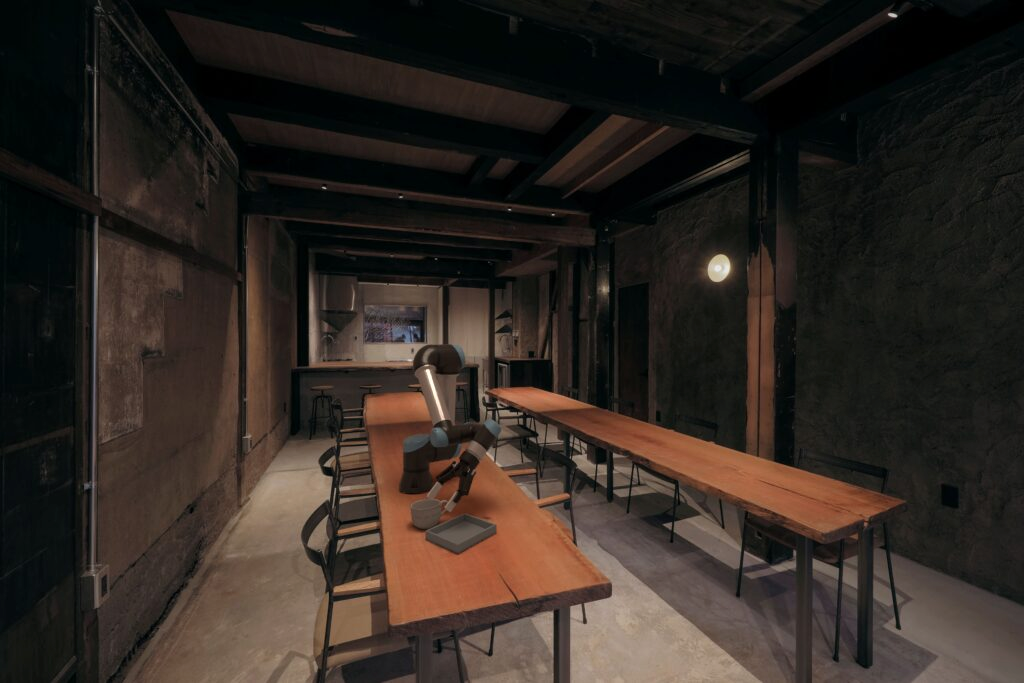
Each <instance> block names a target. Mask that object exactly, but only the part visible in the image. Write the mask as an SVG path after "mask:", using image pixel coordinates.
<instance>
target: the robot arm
mask: <svg viewBox="0 0 1024 683" xmlns="http://www.w3.org/2000/svg"><path fill="white" fill-rule="evenodd" d="M465 367H466V355H465V352H464V350H463V348H462V347H461V346H460V345H458V344H452V343H449V344H445V343H443V344H442V343H441V344H440V343H439V344H427V345H424V346H422V347H420V348H419V349H418V350H417V352H416V353H415V355H414V357H413V361H412V370H413V374H414V377H415V378H417V379H418V382H419V385H420V388H421V392H422V395H423V398H424V400H425V401H424V402H425V405H426V407H427V411H428V414H429V418H430V420H431V423H432V427H433V428H432V429H431V430H430V433H429V434H427V433H417V434H412V435H411V436H408V437H406V438H405V439H404V440H403V443H402V475H401V478H400V481H399V484H398V489H399V490H400V491H402V492H405V493H404V494H406V493H420V494H423V493H422V492H425V493H427V492H426V491H428V493H427V495H426V499H435V497H436V496H437V495H438V494H439V492H440V490H441V489H442V487H443V486H444V484H445V483H447V482H449V481H450V480H452V479H454V478H459V481H458V488H457V490H456V491H455V492H454V493H453V495H452V496H451V497H450V498H449V500H448V503H447V505H446V504H445V506H444V507H443V508H444V509H447V511H448V512H449V513H451V512H452V511H453V509H454V508H455V506H456V505H457V504H458V503H459V502H460V500H461V499H462V497H464V496H466V497H467V496H469V494H470V491H471V487H472V484H473V482H474V481H473V480H474V479H475V478H474V477H475V475H476V474H477V471H476V469H477V467H478V466H479V465H480V461H482V460H483V459H484V457H485V456H486V454H487V453H488V451H489V450H490V448H491V447H492V445H494V443H495V442H496V440H497V439H498V437H499V435H500V434H501V432H502V426H501V425H500V423H498V422H497V421H495V420H493V419H490V418H488V419H486V420H485V421H484V422H483V424H482V423H477V422H475V421H470V422H469V421H468V422H465V423H462V424H456V423H455V421H456V420H455V419H456V418H455V417H456V399H457V398H456V397H457V396H456V395H457V377H458V376H459V375H460V374H461V370H462V369H464V368H465ZM455 424H456V425H455ZM467 443H468V445H466V447H465V450H463V451H462V448H463V445H464V444H467ZM458 456H459V457H458ZM457 457H458V459H459V462H457V460H453V461H452V463H451V464H449V465H448V466H447V467H446V468H444V470H442V471H441V472H440V473H439V474H438V475H436V477H435V480H436V481H435V484H434V480H433V476H432V473H431V471H430V469H431V468H430V464H431V463H436V462H441V461H442V462H443V461H450V460H452V459H456V458H457ZM399 490H398V491H399ZM429 490H430V491H429ZM400 491H399V492H400ZM402 492H401V493H402Z"/></svg>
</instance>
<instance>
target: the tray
mask: <svg viewBox="0 0 1024 683" xmlns="http://www.w3.org/2000/svg"><path fill="white" fill-rule="evenodd" d="M495 533H496V534H497V523H496V524H495V523H494V522H491V521H489V520H485V519H482V518H480V517H477V516H474V515H471V514H469V513H465V512H464V513H461V514H459V515H457V516H455V517H453V518H451V519H449V520H446V521H443V522H442V523H438V524H436V525H435V526H434V527H431V528H427V529H425V532H424V534H425V535H424V536H425V538H424V539H425V541H427V542H429V543H431V544H434V545H436V546H438V547H440V548H442V549H444V550H447V551H449V552H451V553H453V554H456V555H460V554H461V553H463V552H465V551H467V550H469V549H470V547H471V546H472V547H474V546H476V545H478V544H479V542H480V541H481V542H483V541H485V540H486V538H487V539H489V538H490V536H491V537H492V536H494V535H496V534H495ZM493 534H494V535H493ZM488 537H489V538H488ZM484 539H485V540H484ZM482 540H483V541H482ZM481 542H480V543H481ZM477 543H478V544H477ZM475 544H476V545H475ZM473 545H474V546H473ZM472 547H471V548H472ZM468 548H469V549H468ZM466 549H467V550H466Z"/></svg>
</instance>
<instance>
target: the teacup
mask: <svg viewBox="0 0 1024 683" xmlns="http://www.w3.org/2000/svg"><path fill="white" fill-rule="evenodd" d="M448 502H449V500H446V499H442V500H439V499H437V498H434V499H429V498H425V499H420V500H417V501H414V502H413V503H411V504H410V506H409V507H410V514H411V515H410V516H411V518H410V519H411V521H412V522H411V523H412V524H413V525H414V526H415V527H417V528H418V529H421V530H428V529H431V528H433V527H435V526H437V525H438V524H439V523H440V520H441V517H442V516H443V515H444V514H445V513H446V512H447V511H448V510H447V509H445V508H444V509H442V506H443V504H445V506H446V505H447V503H448ZM441 510H442V511H441Z"/></svg>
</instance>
